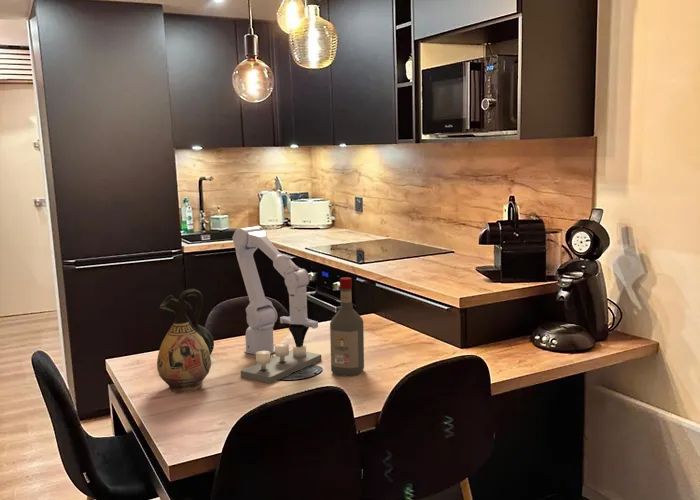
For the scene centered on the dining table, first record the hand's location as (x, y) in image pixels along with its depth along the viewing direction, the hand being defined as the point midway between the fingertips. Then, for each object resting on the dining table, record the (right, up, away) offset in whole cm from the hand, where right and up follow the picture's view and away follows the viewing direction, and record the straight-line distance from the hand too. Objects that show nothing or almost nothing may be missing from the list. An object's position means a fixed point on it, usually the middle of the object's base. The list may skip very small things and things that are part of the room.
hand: (299, 346), depth 217 cm
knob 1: (-10, -5, -14) cm, 18 cm away
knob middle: (-5, -4, -7) cm, 9 cm away
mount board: (-5, -6, -7) cm, 10 cm away
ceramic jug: (-31, -9, -22) cm, 40 cm away
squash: (-36, -6, +2) cm, 37 cm away
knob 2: (0, -5, +1) cm, 5 cm away
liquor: (+16, -7, -11) cm, 21 cm away
